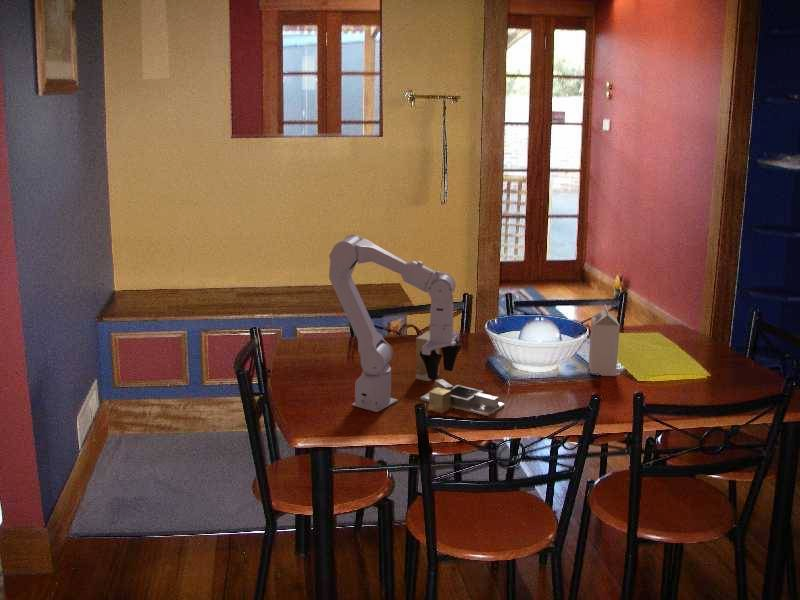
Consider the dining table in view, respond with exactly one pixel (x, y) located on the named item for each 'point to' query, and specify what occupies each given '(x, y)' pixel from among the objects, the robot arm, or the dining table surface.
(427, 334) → the skincare box
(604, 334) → the milk carton
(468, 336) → the dining table surface
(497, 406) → the coupling bench
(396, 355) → the dining table surface
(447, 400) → the block
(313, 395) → the dining table surface
